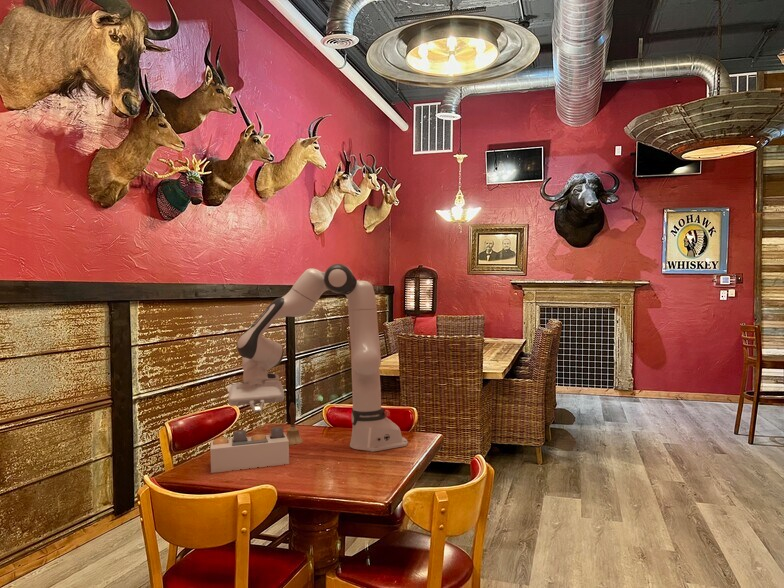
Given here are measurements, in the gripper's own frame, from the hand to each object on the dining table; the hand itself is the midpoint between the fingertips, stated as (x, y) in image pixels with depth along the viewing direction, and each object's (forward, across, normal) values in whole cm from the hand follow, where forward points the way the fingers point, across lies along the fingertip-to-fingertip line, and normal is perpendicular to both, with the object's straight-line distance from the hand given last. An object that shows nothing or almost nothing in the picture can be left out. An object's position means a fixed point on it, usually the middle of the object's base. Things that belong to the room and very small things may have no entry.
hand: (257, 412), depth 197 cm
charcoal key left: (+11, +6, +6) cm, 14 cm away
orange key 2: (+12, 0, +8) cm, 15 cm away
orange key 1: (+12, -13, +8) cm, 20 cm away
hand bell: (0, +14, +24) cm, 28 cm away
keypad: (+15, -3, +8) cm, 18 cm away
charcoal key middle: (+11, -7, +7) cm, 14 cm away
